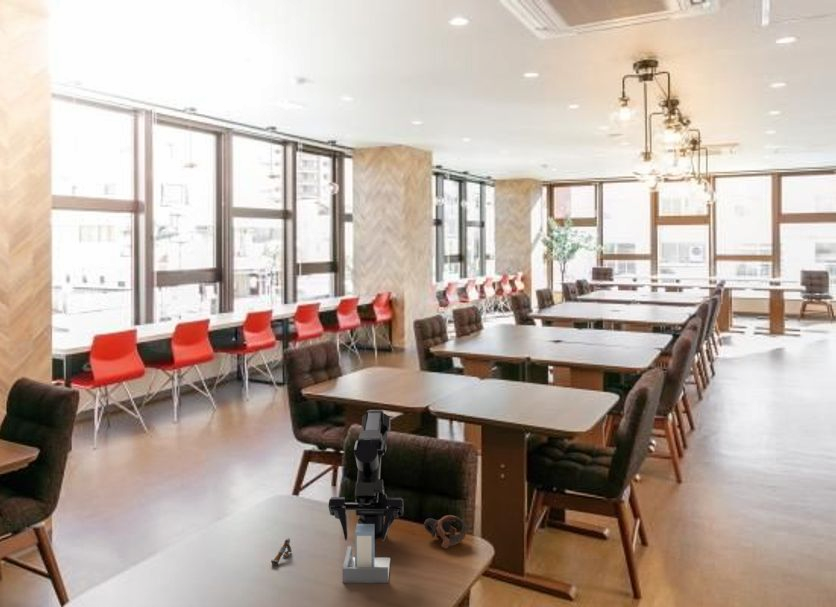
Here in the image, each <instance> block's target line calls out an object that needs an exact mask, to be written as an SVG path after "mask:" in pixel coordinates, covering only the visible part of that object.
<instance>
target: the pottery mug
mask: <svg viewBox="0 0 836 607" xmlns="http://www.w3.org/2000/svg"><path fill="white" fill-rule="evenodd" d="M456 521H457V523H459V524H460V525H461V531H460V532H459V533H458V534H456V532H457V528H455V527H453V526H452V523H453V522H456ZM423 526H424V529H425V530H426V531H427V532H428V533H429V534H430V535H431V537H432V538H435V537H438V536H439V537H440V538H441V539H442V543H441V544H440V546H441V548H443V549H445V550H447V549H448V548H449V547H453V546H455V545H459V544H460V543H462V542H463V540H464V539H465V537H466V535H467V534H468V533H467V530H466V524H465V522H464V521H463V519H461V518H460V517H458V516H456V515H453V514H447V515H444V516H442V517H441V518H440V519H435V518H431V517H430V518H427V519H425V521H424V522H423ZM446 534H449V536H446Z"/></svg>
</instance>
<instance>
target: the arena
mask: <svg viewBox="0 0 836 607" xmlns="http://www.w3.org/2000/svg"><path fill="white" fill-rule="evenodd" d="M352 550H353V546H352V545H348V546H347V548H346V552H345V557H344V562H343V565H342V583H344V584H347V583H349V584H354V583H355V584H356V583H357V584H389V575H390V574H389V573H390V565H391V557H376V556H375V566H374V567H355V556H353V551H352Z"/></svg>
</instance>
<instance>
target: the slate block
mask: <svg viewBox="0 0 836 607" xmlns="http://www.w3.org/2000/svg"><path fill="white" fill-rule="evenodd" d="M375 539H376V538H375V524H358V523H356V526H355V530H354V557H355V567H374V566H375V557H376V556H375V554H376V553H375Z"/></svg>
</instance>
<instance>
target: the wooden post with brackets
mask: <svg viewBox="0 0 836 607" xmlns="http://www.w3.org/2000/svg"><path fill="white" fill-rule="evenodd" d="M290 543H291V538H286V539H285V540H284V542H283V545H282V546H281V547H280V549H279V550H278V553H277V555H276V556H275V557H274V559H270V563H271V565H272V566H273V565H274V566H278V567H279V566H280V564H279V562H280V560H281V558H282V559H286V558H288V556H289V555H290V554H289V553H292V547H291V545H290ZM286 549H287V550H286Z"/></svg>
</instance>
